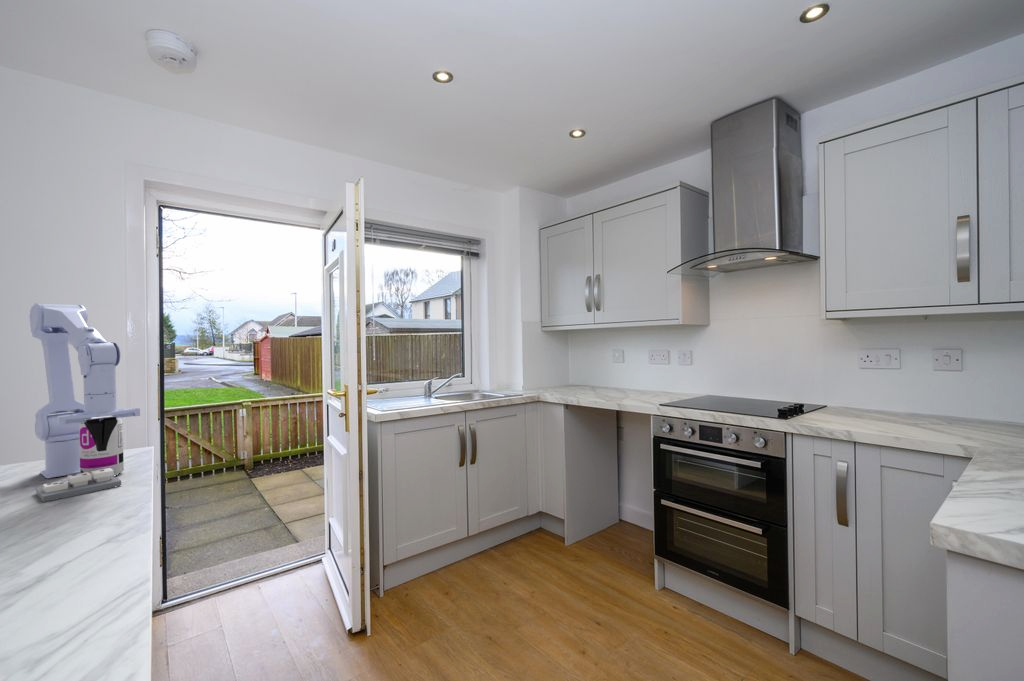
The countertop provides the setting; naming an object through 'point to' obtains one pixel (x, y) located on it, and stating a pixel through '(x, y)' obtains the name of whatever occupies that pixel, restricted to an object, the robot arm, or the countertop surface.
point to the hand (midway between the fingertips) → (101, 450)
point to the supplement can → (102, 459)
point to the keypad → (78, 489)
